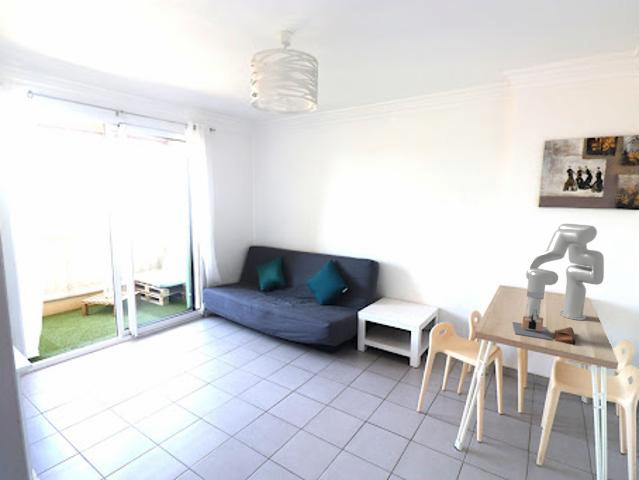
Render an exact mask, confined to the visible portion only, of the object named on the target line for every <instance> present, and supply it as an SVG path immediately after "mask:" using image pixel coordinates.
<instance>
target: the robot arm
mask: <svg viewBox="0 0 639 480" xmlns="http://www.w3.org/2000/svg"><path fill="white" fill-rule="evenodd" d="M597 234H598V231H597V228H596V227H595V226H593V225H587V224H578V223H577V224H576V223H562V224H560V225H559V226H558V228H557V230H555V231H554V233H553V235H552V237H551V239H550V242H549V244H548V246H547V248H546V250H545V251H544V252H542V253H540V254H539V255H537V256H536V257H534V258H533V259H532V260H531V262H530V263H529V265H528V268H527V269H526V273H525V274H526V275H525V276H526V279H527V281H528V282H527V290H526V298H527V303H526V309H525V311H526V312H525V313H526V315H527V316H529V317H530V321H529V327H528V328H529V329H533V330H535V329H536V320H537V318H539V317H540V315H541V314H540V313H541V304H542V300H544V299H545V298H544V297H545V292H546V291H545V289H546V286H553V285H555V284H557V282H558V281H559V275H558V273H556V272H555V271H553V270H548V269H543V268H539V267H540V266H541V265H542V264H546V263H550V262H553V261H558V260H562V259H563V258H564V257H565V255H566V253H568V262H570V264H571V265H569V266H567V267H566V269H565V276H566V285H565V286H566V287H565V293H564V301H563V310H562V311H560V312H559V315H560V316H562V317H563V318H567V319H569V320H570V319H571V320H574V321H575V320H576V321H585V320H587V319H586V318H587V316H585V315H584V310H585V309H584V308H585V302H586V293H587V289H586V286H585V284H588V285H589V284H590V285H595V286H596V285H597V286H598V285H601V284H602V283H603V282H604V278H605V277H604V276H605V258H604V254H603V253H602V252H601V251H598V250H594V249H588V248H587V246H588V245H587V244H589V243H591V242H592V241H594V240H595V238H596V237H597ZM567 251H568V252H567Z"/></svg>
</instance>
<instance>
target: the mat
mask: <svg viewBox="0 0 639 480" xmlns="http://www.w3.org/2000/svg"><path fill="white" fill-rule="evenodd" d="M511 323H512V326H513V331H514V334H515V335H518V336H521V337H522V336H523V337H528V338H535V339H540V340H541V339H542V340H547V341H553V338H552V335H551V334H550V332H549V331H548V328H547V326H542V331H540V330H533V329H528V328H522V322H518V321H517V322H516V321H512V322H511Z"/></svg>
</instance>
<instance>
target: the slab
mask: <svg viewBox="0 0 639 480" xmlns="http://www.w3.org/2000/svg"><path fill="white" fill-rule="evenodd" d="M521 320H522V321H521V323H522V328H528V327H529V321H530V317H529V316H528V315H527V314H526V315H525V314H522V319H521ZM543 325H544V317H540V316H539V318H537V320H536V329H535V330H540V331H542V327H544V326H543ZM528 329H529V328H528Z"/></svg>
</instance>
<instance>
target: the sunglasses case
mask: <svg viewBox="0 0 639 480" xmlns="http://www.w3.org/2000/svg"><path fill="white" fill-rule="evenodd" d="M554 332H555V338H554V341H555V342H556V343H557V342H558V343H563V344H567V345H571V346H575V345H576V336H575V335H576V334H575V331H574V329H573V327H571V326H569V327H565V328H560V329H555V330H554Z"/></svg>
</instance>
